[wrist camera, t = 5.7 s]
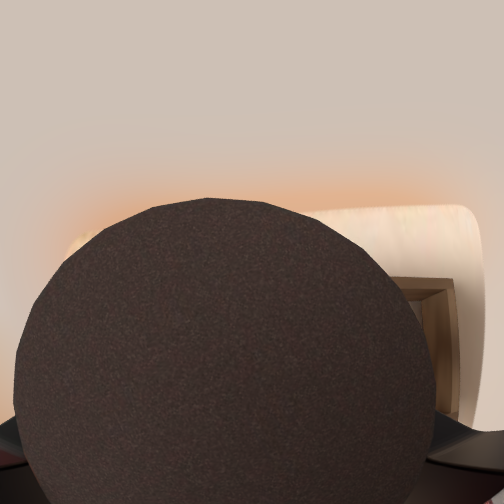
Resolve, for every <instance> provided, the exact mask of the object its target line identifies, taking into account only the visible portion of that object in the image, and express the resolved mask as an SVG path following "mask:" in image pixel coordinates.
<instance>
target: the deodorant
mask: <svg viewBox="0 0 504 504" xmlns="http://www.w3.org/2000/svg"><path fill="white" fill-rule="evenodd" d="M13 404H14V410H15V416H16V421H17V426H18V431H19V435H20V439H21V444H22V447H23V451H24V454H25V457H26V459H27V461H28V463H29V465H30V467H31V469H32V471H33V473H34V475H35V477H36V479H37V481H38V483H39V485H40V486H41V488H42V490H43V492H44V493H45V495H46V497H47V499H48V500H49V501H50V503H51V504H404V502H405V501H406V499H407V498H408V496H409V495H410V493H411V492H412V490H413V489H414V487H415V486H416V484H417V481H418V479H419V476H420V474H421V471H422V468H423V466H424V463H425V460H426V457H427V454H428V451H429V448H430V445H431V442H432V439H433V434H434V423H435V408H436V381H435V376H434V371H433V366H432V362H431V357H430V353H429V349H428V345H427V341H426V337H425V334H424V332H423V330H422V328H421V326H420V324H419V322H418V320H417V318H416V316H415V314H414V313H413V311H412V309H411V307H410V305H409V303H408V302H407V300H406V298H405V296H404V294H403V293H402V291H401V289H400V288H399V286H398V285H397V284H396V283H395V282H394V281H393V280H392V279H391V278H390V277H389V276H388V274H387V273H386V272H385V271H384V270H383V269H382V268H381V267H380V266H379V265H378V264H377V263H376V262H375V261H374V260H373V259H372V258H371V257H370V255H369V254H368V253H367V252H366V251H365V250H364V249H363V248H361V247H359V246H358V245H356V244H355V243H353V242H352V241H350V240H349V239H347V238H345V237H344V236H342V235H341V234H339V233H337V232H336V231H334V230H333V229H331V228H329V227H328V226H326V225H325V224H323V223H321V222H320V221H318V220H316V219H314V218H311V217H308V216H305V215H302V214H299V213H296V212H292V211H290V210H287V209H284V208H281V207H277V206H274V205H271V204H268V203H265V202H258V201H246V200H233V199H219V198H203V199H197V200H191V201H185V202H179V203H173V204H167V205H162V206H157V207H152V208H150V209H148V210H146V211H143V212H141V213H138V214H136V215H134V216H132V217H130V218H127V219H125V220H123V221H121V222H119V223H116V224H114V225H112V226H110V227H108V228H106V229H104V230H103V231H101V232H100V233H99V234H97V235H96V236H95V237H94V238H92V239H91V240H90V241H88V242H87V243H86V244H85V245H84V246H82V247H81V248H80V249H79V250H77V251H76V252H75V253H74V254H73V255H71V256H70V257H69V258H68V259H67V260H65V261H64V262H63V263H62V265H61V266H60V267H59V269H58V270H57V272H56V273H55V274H54V275H53V277H52V279H51V280H50V281H49V282H48V284H47V285H46V287H45V288H44V289H43V291H42V292H41V294H40V295H39V297H38V298H37V300H36V301H35V303H34V304H33V307H32V309H31V312H30V314H29V317H28V320H27V322H26V325H25V328H24V331H23V334H22V337H21V339H20V343H19V346H18V349H17V352H16V363H15V374H14V394H13Z"/></svg>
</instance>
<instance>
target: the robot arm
mask: <svg viewBox="0 0 504 504" xmlns="http://www.w3.org/2000/svg"><path fill="white" fill-rule="evenodd" d="M0 504H51V503H50V501H49V500H48V499H47V497H46V495H45V493H44V492H43V490H42V488H41V486H40V485H39V483H38V481H37V479H36V477H35V475H34V473H33V471H32V469H31V467H30V465H29V463H28V461H27V459H26V457H25V454H24V451H23V447H22V444H21V439H20V435H19V431H18V426H17V421H16V416H14V417H12V418H10V419H9V420H7V421H6V422H4V423H2V424H1V425H0ZM404 504H504V430H502V431H490V432H483V431H477V430H474V429H471V428H469V427H467V426H465V425H463V424H461V423H460V422H458V421H456V420H454V419H452V418H450V417H448V416H447V415H445V414H443V413H441V412H439V411H438V410H436V409H435V423H434V434H433V439H432V442H431V445H430V448H429V451H428V454H427V457H426V460H425V463H424V466H423V468H422V471H421V474H420V476H419V479H418V481H417V484H416V486H415V487H414V489H413V490H412V492H411V493H410V495H409V496H408V498H407V499H406V501H405V502H404Z"/></svg>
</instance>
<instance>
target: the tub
mask: <svg viewBox="0 0 504 504" xmlns="http://www.w3.org/2000/svg"><path fill="white" fill-rule="evenodd" d="M390 278H391V279H392V280H393V281H394V282H395V283H396V284H397V285H398V286H399V288H400V289H401V291H402V293H403V294H404V296H405V298H406V300H407V301H421V305H422V317H423V332H424V334H425V337H426V341H427V345H428V349H429V353H430V357H431V362H432V366H433V371H434V376H435V381H436V408H435V409H436V410H438V411H439V412H441V413H443V414H445V415H447V416H448V417H450V418H452V419H454V420H456V421H458V412H459V393H460V352H459V332H458V319H457V309H456V300H455V292H454V284H453V279H449V278H415V277H390Z"/></svg>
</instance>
